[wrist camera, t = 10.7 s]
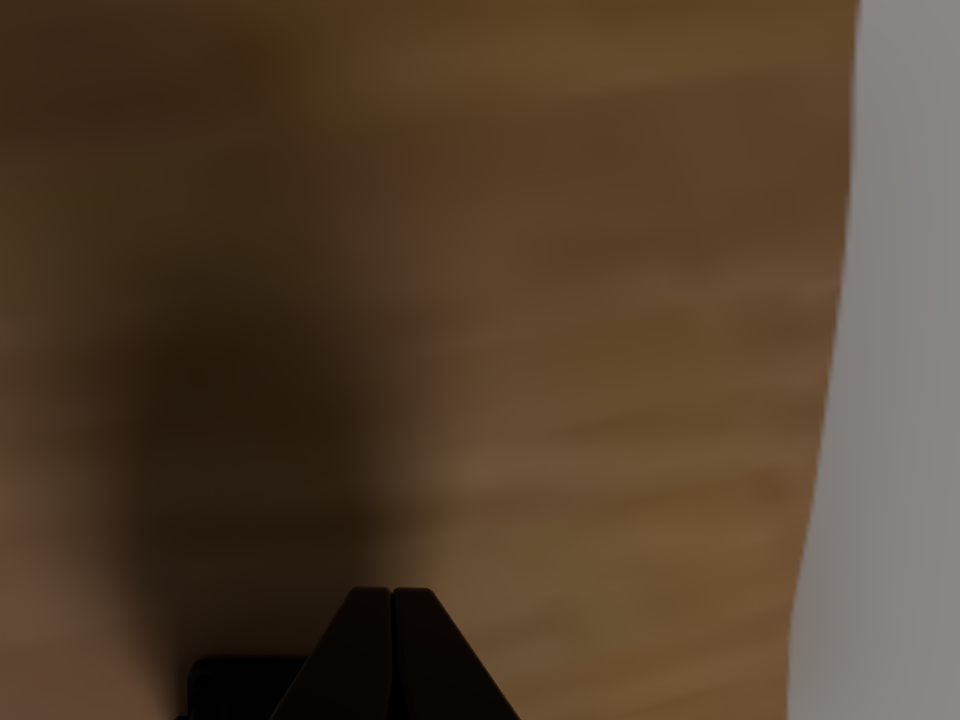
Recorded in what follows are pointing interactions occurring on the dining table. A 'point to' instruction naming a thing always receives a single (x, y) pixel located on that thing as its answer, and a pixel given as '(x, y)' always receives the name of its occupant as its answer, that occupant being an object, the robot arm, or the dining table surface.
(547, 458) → the dining table surface
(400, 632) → the robot arm
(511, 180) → the dining table surface
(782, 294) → the dining table surface
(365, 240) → the dining table surface
